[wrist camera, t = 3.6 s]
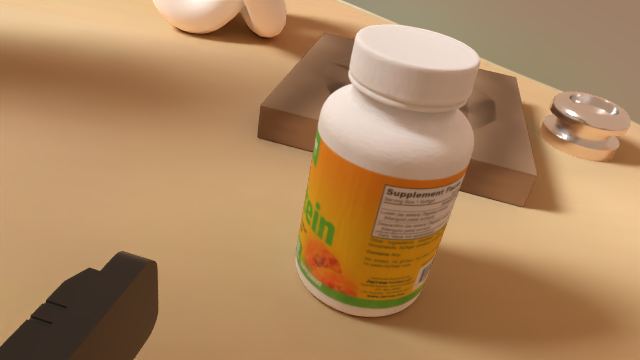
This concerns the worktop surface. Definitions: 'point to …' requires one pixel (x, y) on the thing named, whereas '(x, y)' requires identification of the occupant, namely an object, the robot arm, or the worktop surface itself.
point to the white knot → (224, 14)
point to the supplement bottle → (386, 170)
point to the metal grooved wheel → (584, 126)
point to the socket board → (480, 109)
